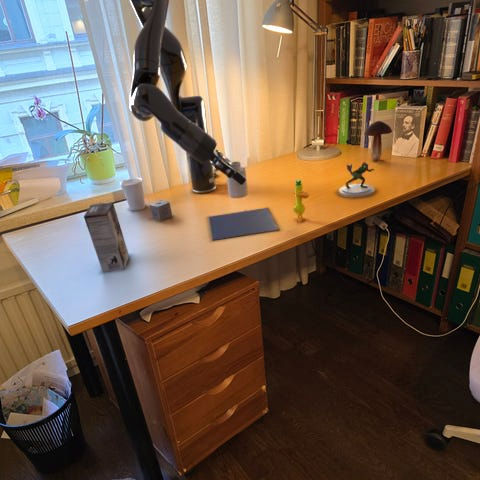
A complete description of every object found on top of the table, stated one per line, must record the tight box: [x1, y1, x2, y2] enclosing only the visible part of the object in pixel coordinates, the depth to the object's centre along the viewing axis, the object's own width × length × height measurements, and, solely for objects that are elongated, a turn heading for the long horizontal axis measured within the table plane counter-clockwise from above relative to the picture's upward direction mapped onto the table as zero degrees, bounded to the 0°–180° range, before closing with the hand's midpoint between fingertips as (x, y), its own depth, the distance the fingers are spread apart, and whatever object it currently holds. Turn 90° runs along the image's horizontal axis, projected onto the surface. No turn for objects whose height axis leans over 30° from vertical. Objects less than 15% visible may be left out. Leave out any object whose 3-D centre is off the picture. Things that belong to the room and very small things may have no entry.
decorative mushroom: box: [363, 120, 393, 161], centre depth 169 cm, size 11×11×15 cm
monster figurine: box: [338, 161, 376, 199], centre depth 140 cm, size 12×12×10 cm
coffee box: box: [83, 201, 130, 273], centre depth 112 cm, size 9×6×16 cm
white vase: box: [226, 161, 249, 199], centre depth 123 cm, size 6×6×10 cm
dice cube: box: [148, 199, 173, 222], centre depth 143 cm, size 5×5×5 cm
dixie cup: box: [119, 177, 146, 211], centre depth 153 cm, size 8×8×10 cm
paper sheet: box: [208, 207, 280, 241], centre depth 131 cm, size 20×20×1 cm
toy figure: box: [292, 179, 310, 222], centre depth 124 cm, size 7×4×12 cm, turn 32°
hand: (242, 179), depth 123 cm, fingers closed on white vase, 5 cm apart
